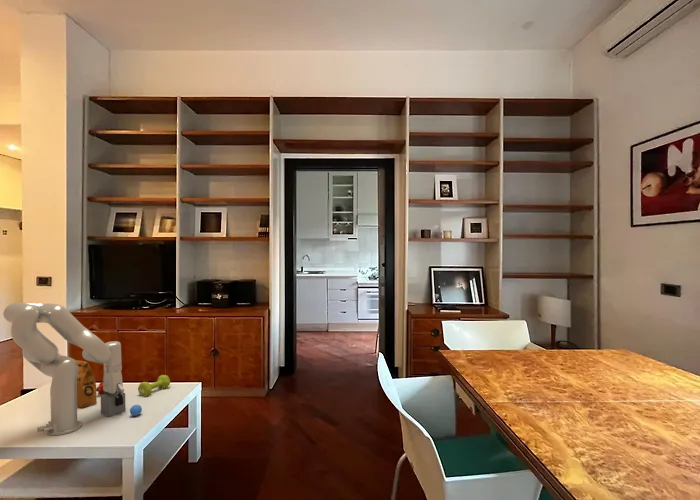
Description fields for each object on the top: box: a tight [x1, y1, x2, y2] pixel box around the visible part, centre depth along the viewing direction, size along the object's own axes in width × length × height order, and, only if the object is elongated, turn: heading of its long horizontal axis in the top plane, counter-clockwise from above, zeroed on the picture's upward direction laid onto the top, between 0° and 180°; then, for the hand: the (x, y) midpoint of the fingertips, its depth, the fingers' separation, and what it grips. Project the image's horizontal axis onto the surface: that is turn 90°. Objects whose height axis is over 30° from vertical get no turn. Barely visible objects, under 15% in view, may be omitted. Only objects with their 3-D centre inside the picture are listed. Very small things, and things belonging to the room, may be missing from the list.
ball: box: [129, 404, 143, 417], centre depth 194 cm, size 5×5×5 cm
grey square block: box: [100, 392, 127, 418], centre depth 198 cm, size 8×8×9 cm
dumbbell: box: [137, 374, 171, 397], centre depth 226 cm, size 16×8×7 cm, turn 156°
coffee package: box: [74, 359, 97, 409], centre depth 209 cm, size 10×12×22 cm
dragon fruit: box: [96, 381, 105, 396], centre depth 223 cm, size 8×8×12 cm
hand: (114, 403), depth 198 cm, fingers open, 9 cm apart
